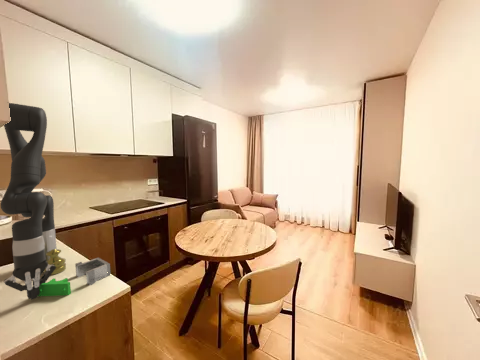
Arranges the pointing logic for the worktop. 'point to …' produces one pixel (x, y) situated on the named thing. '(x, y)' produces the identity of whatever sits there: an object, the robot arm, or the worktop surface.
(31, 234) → the robot arm
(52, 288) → the pipe clamp
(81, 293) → the worktop surface
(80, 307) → the worktop surface
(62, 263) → the gold twisted vase
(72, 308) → the worktop surface
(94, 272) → the grey u-shaped bracket
